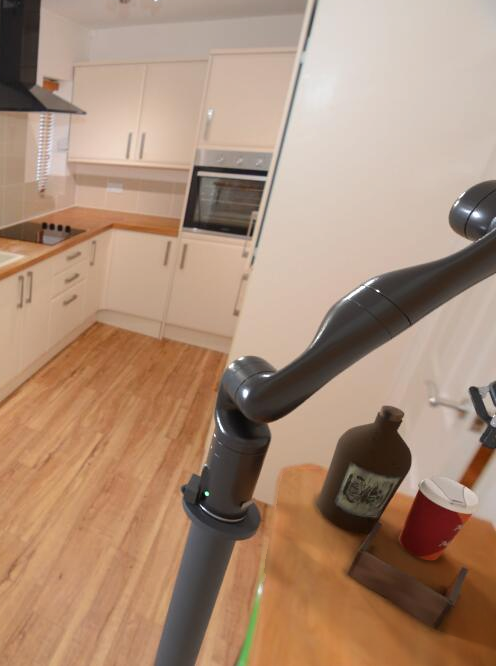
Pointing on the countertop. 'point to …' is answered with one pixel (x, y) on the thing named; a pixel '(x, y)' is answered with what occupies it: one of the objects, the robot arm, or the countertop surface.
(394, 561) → the countertop surface
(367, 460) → the brown bottle
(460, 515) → the paper cup
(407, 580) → the holder
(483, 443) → the robot arm
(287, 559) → the countertop surface
